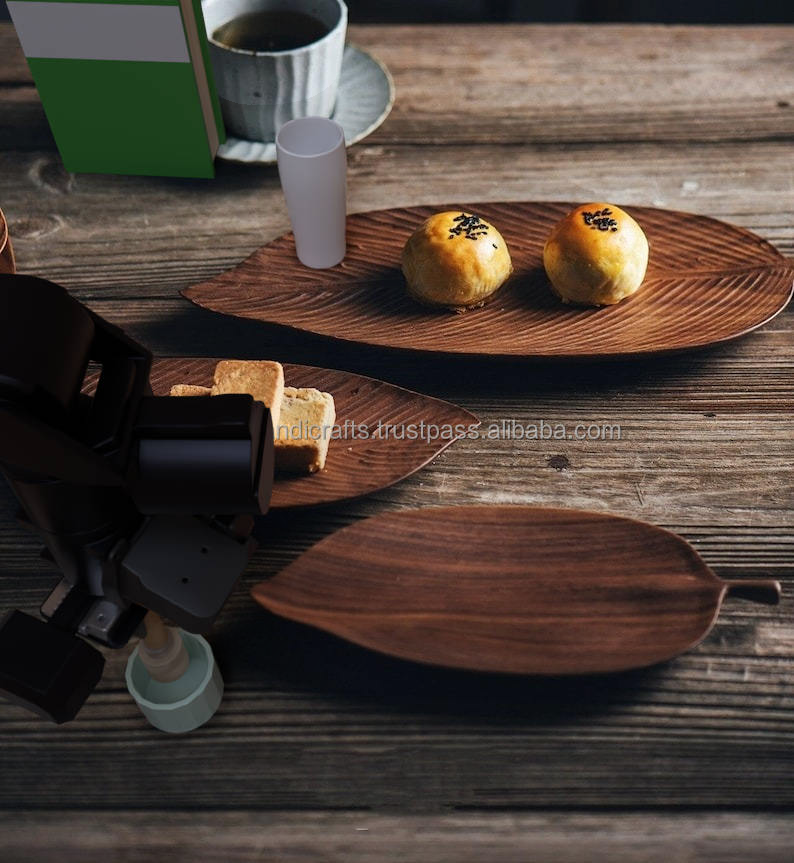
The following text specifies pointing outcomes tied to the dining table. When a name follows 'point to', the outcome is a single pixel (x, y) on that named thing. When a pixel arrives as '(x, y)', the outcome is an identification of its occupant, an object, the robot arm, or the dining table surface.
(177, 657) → the brush
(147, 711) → the cup
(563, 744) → the dining table surface
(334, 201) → the drinking glass
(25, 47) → the hardback book
